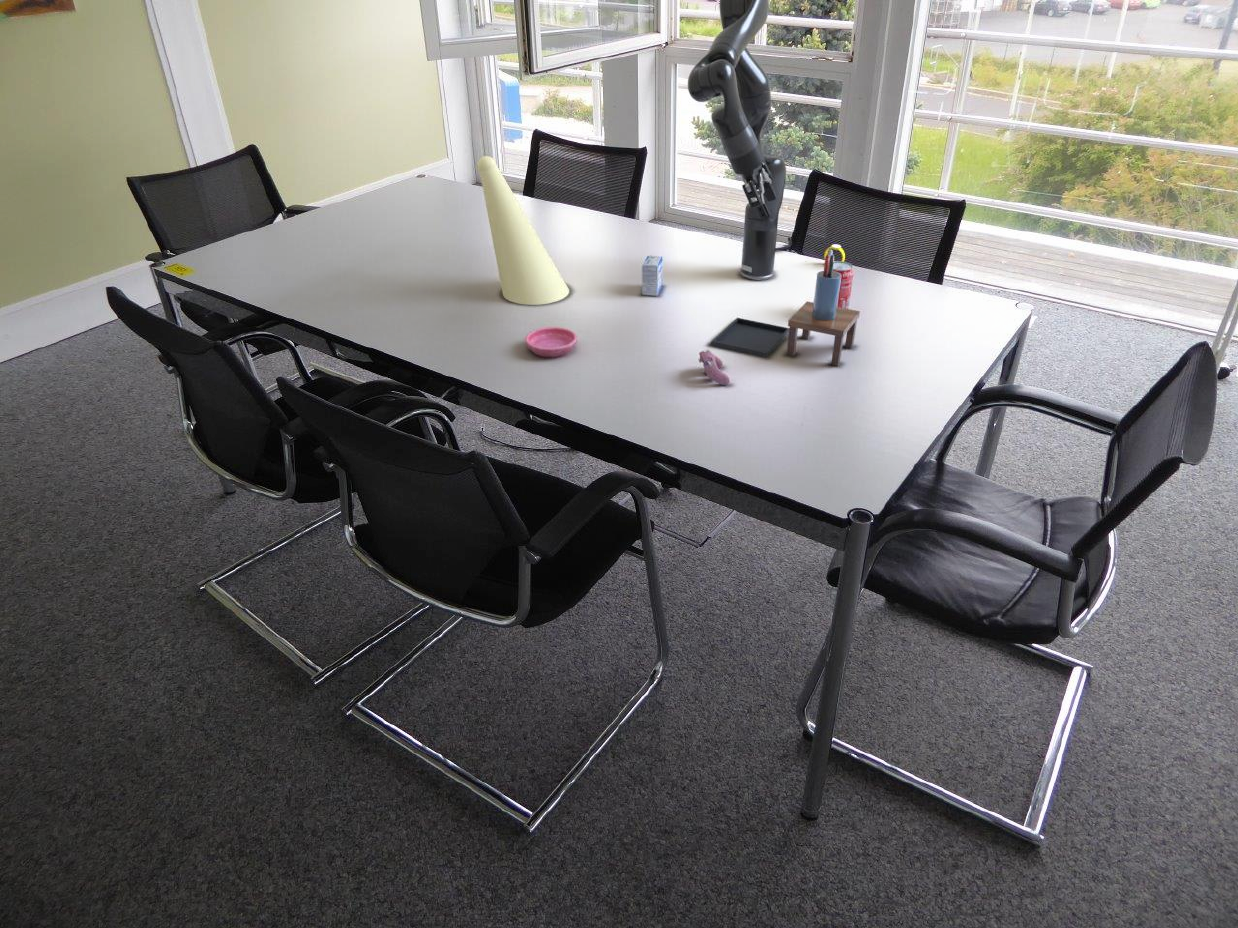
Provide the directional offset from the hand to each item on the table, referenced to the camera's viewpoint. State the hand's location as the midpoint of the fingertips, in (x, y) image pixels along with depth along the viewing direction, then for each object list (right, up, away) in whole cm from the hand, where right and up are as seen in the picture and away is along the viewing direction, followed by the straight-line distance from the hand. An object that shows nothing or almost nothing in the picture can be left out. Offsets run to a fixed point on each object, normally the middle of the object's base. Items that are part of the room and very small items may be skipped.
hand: (769, 208), depth 207 cm
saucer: (-52, -33, +2) cm, 62 cm away
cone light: (-62, -13, +34) cm, 72 cm away
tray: (-4, -30, +6) cm, 31 cm away
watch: (+27, -2, +49) cm, 56 cm away
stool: (+12, -34, 0) cm, 36 cm away
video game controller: (-15, -41, -11) cm, 45 cm away
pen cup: (+12, -26, -5) cm, 29 cm away
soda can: (+20, -22, +19) cm, 35 cm away
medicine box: (-27, -13, +33) cm, 45 cm away
